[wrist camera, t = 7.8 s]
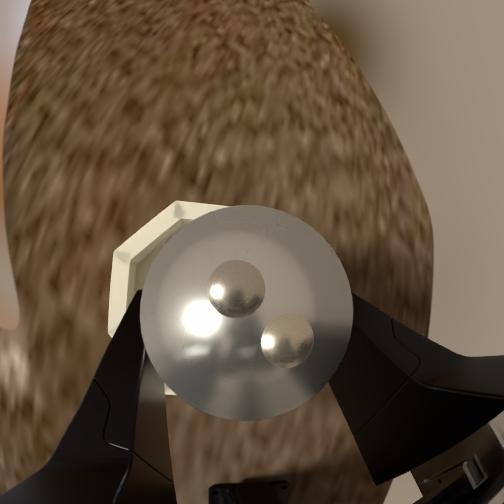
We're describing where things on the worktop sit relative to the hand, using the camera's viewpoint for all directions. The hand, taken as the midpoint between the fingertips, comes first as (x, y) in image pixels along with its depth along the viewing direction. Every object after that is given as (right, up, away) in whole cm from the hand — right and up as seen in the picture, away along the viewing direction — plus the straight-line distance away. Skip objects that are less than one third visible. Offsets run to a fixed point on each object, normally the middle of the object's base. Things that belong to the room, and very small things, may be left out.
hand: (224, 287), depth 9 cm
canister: (-1, -2, +6) cm, 7 cm away
